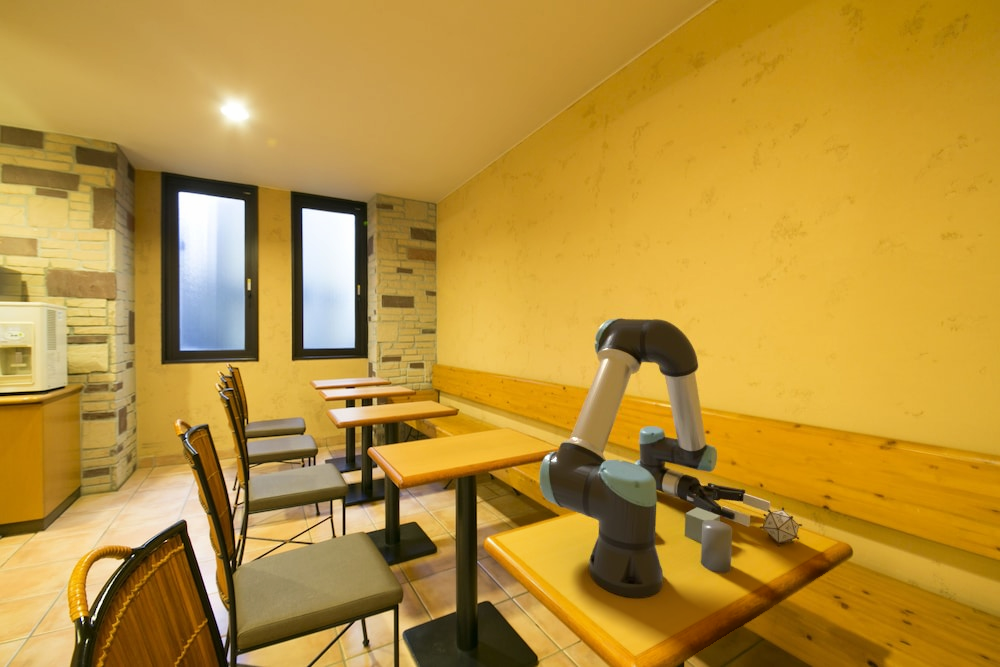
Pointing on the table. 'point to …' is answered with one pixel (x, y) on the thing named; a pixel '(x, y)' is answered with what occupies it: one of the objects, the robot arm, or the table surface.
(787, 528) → the game die
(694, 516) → the olive block
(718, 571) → the gray cylinder
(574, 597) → the table surface
